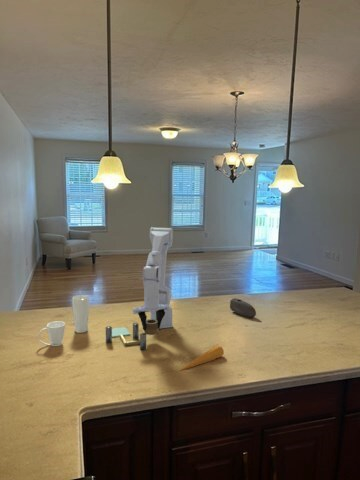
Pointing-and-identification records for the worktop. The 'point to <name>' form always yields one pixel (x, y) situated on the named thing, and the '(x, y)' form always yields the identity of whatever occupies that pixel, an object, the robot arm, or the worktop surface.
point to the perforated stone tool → (242, 308)
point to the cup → (54, 333)
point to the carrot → (206, 357)
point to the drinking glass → (80, 312)
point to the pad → (120, 332)
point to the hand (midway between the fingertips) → (151, 328)
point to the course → (135, 336)
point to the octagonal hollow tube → (151, 327)
